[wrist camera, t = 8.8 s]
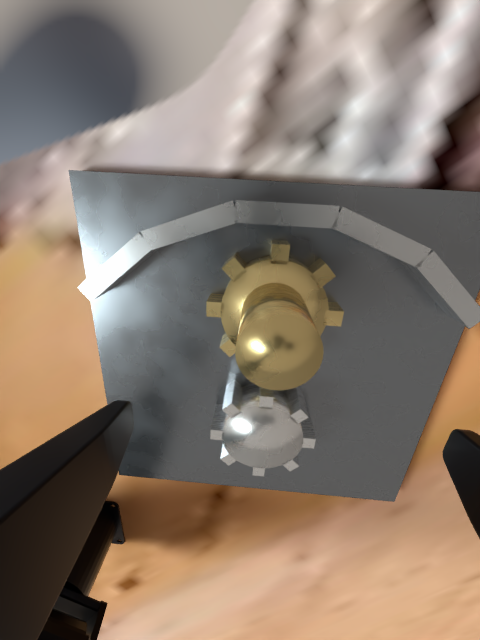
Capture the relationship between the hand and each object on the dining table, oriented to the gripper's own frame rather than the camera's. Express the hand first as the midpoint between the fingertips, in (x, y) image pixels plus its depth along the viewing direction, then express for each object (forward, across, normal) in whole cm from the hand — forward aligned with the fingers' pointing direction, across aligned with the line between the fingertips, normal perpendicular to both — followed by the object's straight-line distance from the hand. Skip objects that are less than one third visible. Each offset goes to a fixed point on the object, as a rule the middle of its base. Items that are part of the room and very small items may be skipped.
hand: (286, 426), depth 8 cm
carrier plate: (+11, 0, +5) cm, 12 cm away
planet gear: (+10, 0, 0) cm, 10 cm away
